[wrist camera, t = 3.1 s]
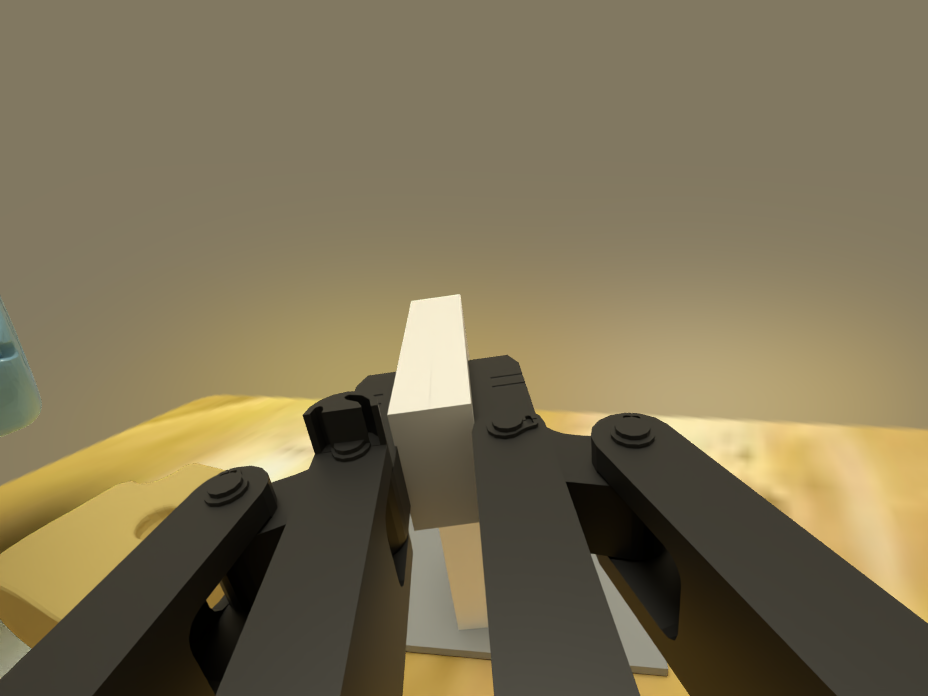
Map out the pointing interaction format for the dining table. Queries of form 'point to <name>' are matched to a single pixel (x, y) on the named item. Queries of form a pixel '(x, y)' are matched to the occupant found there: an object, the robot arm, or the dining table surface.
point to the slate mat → (440, 634)
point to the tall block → (465, 574)
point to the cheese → (86, 550)
